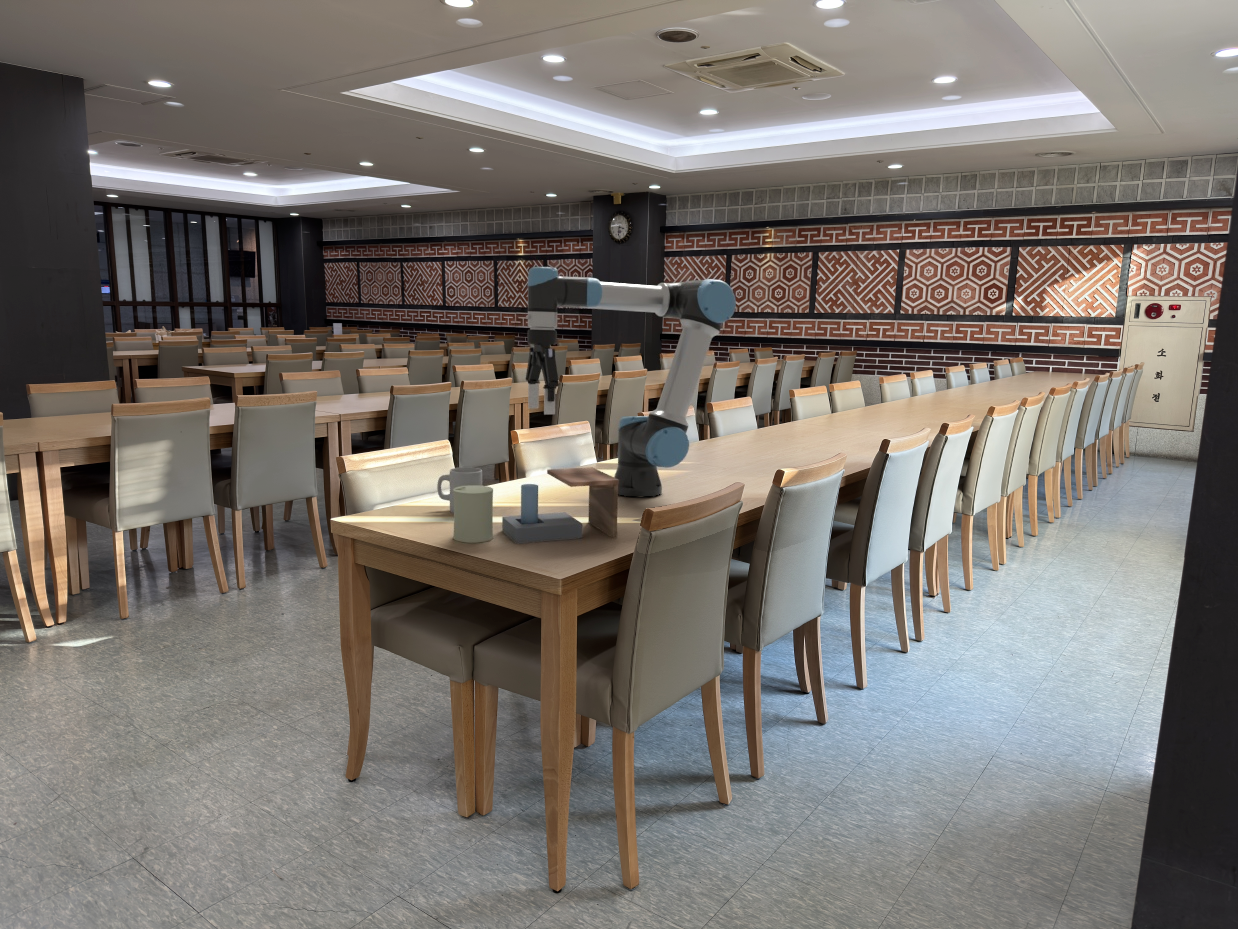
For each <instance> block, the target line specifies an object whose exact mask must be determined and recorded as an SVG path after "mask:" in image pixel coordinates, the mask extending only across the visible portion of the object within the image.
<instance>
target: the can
mask: <svg viewBox="0 0 1238 929" xmlns="http://www.w3.org/2000/svg"><path fill="white" fill-rule="evenodd" d="M453 493H454V513H453V537H452V539H454V541H457V542H459V543H468V544H471V543H472V544H473V543H475V544H478V543H484V542H489V541H491V540H493V539H494V531H493V530H494V528H493V527H494V526H493V525H494V524H493V523H494V522H493V519H494V518H493V516H494V514H493V512H494V510H493V506H494V505H493V504H494V499H493V498H494V497H493V496H494V488H493V487H491V486H488V485H482V486H480V485H468V486H460V487H456V488H454V489H453Z"/></svg>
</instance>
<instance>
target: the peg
mask: <svg viewBox="0 0 1238 929" xmlns="http://www.w3.org/2000/svg"><path fill="white" fill-rule="evenodd" d="M538 514H539V484H535V483H525V484H521V486H520V515H521V524H522V525H523V524H536V523H538Z"/></svg>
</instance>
